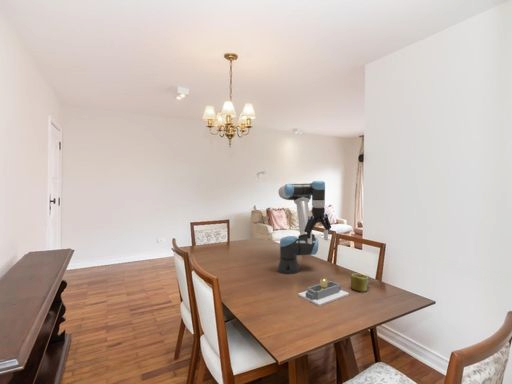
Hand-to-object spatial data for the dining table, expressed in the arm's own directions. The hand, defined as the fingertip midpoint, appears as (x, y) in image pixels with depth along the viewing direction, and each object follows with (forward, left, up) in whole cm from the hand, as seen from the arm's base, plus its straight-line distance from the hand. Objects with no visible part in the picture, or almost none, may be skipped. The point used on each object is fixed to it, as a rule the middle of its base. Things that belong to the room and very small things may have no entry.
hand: (318, 241), depth 168 cm
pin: (+13, -9, -25) cm, 30 cm away
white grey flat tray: (+13, -9, -26) cm, 30 cm away
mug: (+19, +15, -26) cm, 36 cm away
